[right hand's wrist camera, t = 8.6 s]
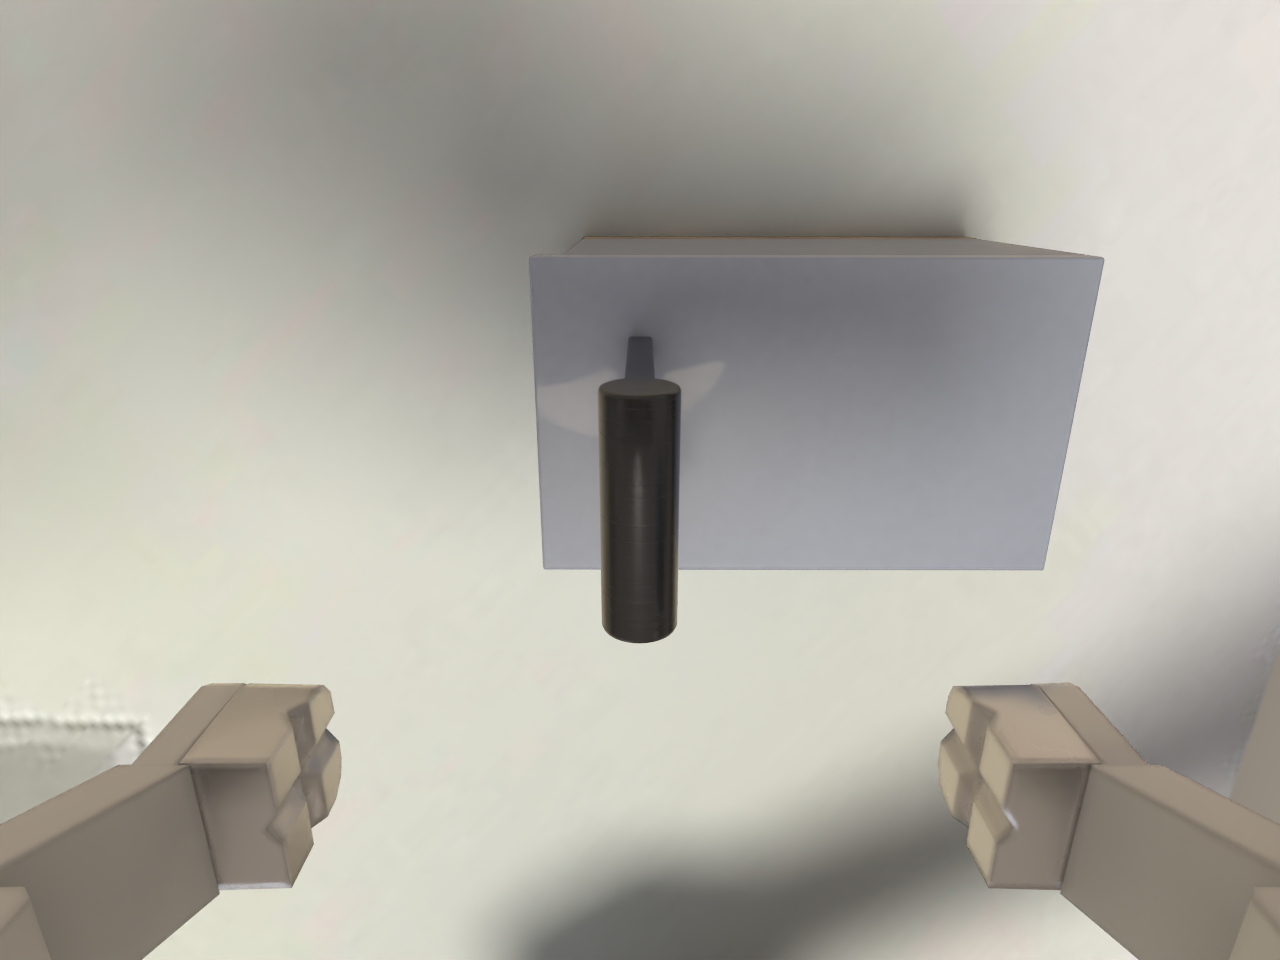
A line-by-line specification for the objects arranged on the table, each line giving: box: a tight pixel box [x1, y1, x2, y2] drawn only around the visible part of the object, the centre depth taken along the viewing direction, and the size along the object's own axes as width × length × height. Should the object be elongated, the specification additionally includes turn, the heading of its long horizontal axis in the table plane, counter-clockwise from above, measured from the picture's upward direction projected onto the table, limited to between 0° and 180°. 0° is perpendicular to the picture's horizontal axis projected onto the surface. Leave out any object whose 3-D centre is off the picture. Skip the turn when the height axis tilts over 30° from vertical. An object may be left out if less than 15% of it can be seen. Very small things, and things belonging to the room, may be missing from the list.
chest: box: [564, 237, 1084, 255], centre depth 29 cm, size 15×10×9 cm, turn 90°
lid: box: [529, 255, 1104, 643], centre depth 20 cm, size 16×10×9 cm, turn 90°
